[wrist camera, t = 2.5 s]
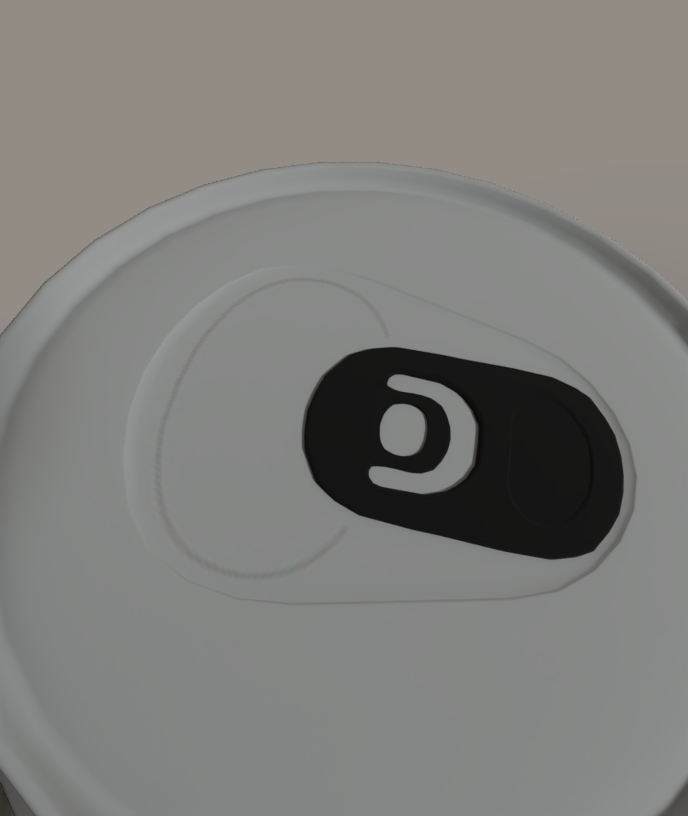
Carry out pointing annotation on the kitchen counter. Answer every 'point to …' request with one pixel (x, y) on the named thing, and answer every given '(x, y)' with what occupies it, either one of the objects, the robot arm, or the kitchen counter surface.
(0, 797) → the kitchen counter surface
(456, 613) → the energy drink can
